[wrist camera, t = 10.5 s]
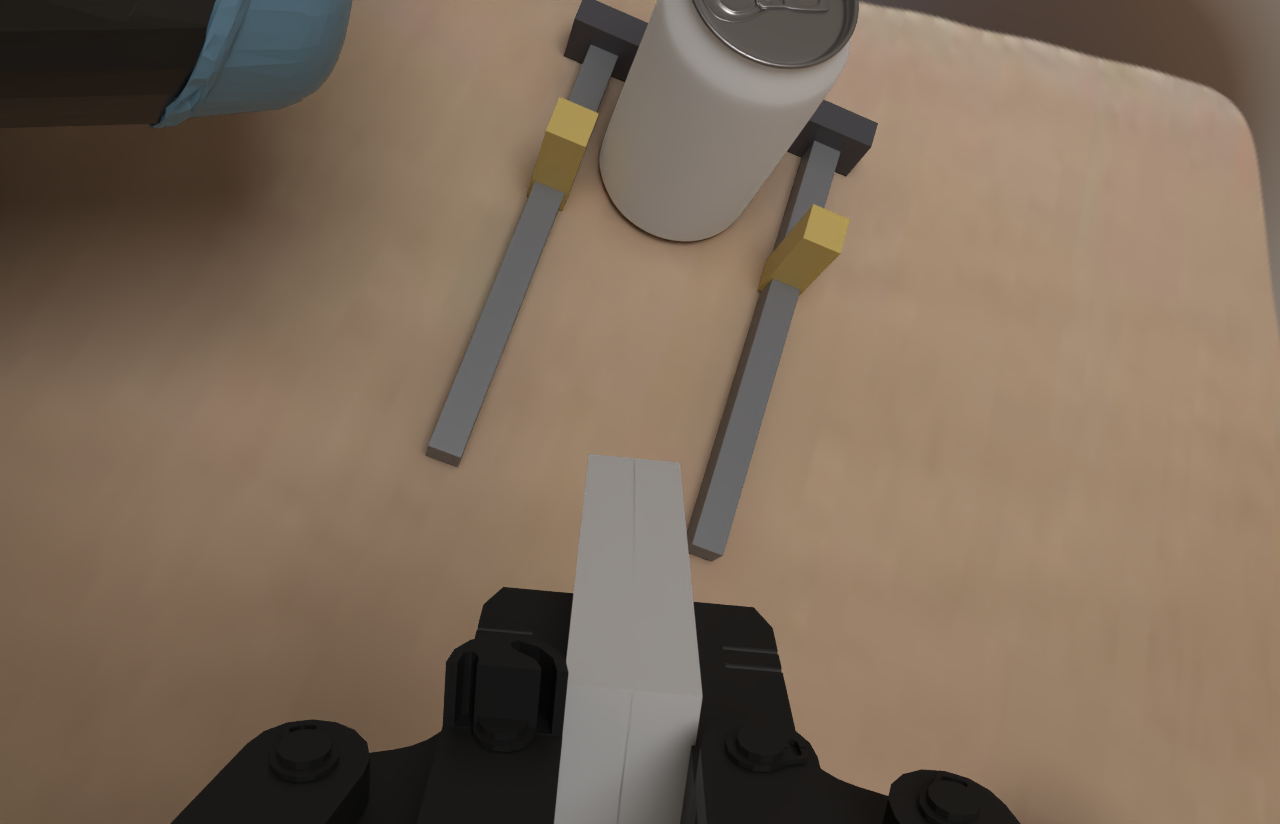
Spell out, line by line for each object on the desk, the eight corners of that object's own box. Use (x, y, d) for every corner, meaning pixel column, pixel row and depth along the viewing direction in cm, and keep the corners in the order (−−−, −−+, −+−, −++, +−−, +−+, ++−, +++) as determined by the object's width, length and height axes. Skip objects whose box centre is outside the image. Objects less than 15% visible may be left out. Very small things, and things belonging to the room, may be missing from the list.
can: (582, 109, 45) (654, -100, 34) (728, 100, 47) (842, -102, 35) (614, 254, 43) (700, 85, 32) (764, 238, 45) (894, 74, 34)
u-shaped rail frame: (402, 446, 39) (406, 406, 34) (573, 33, 46) (596, -47, 41) (733, 569, 41) (780, 548, 36) (852, 153, 47) (905, 89, 43)
